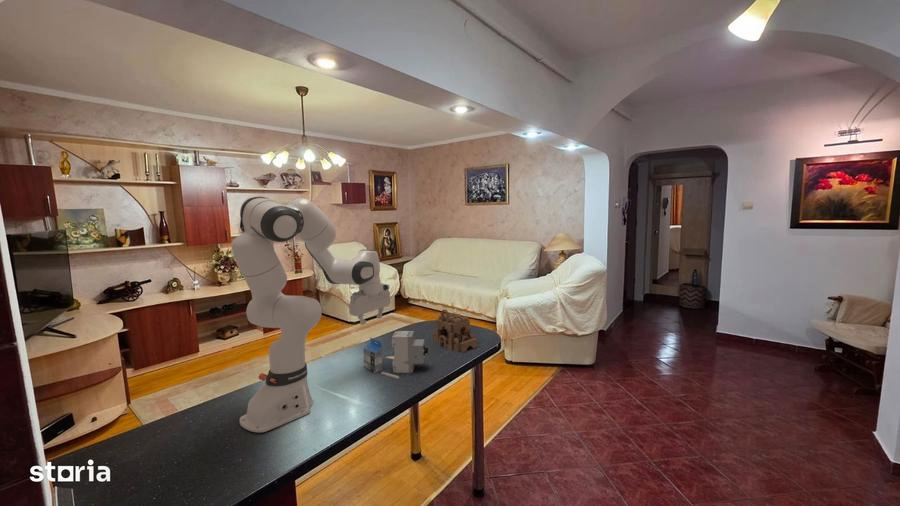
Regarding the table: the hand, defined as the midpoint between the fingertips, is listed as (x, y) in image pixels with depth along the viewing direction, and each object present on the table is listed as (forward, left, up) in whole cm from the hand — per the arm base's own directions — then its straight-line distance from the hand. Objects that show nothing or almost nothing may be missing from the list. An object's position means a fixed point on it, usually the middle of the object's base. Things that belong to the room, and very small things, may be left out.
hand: (371, 321), depth 148 cm
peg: (-2, -11, -21) cm, 24 cm away
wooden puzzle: (+41, -14, -21) cm, 48 cm away
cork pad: (+15, 0, -21) cm, 25 cm away
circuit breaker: (+8, -14, -21) cm, 26 cm away
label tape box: (0, 0, -21) cm, 21 cm away
